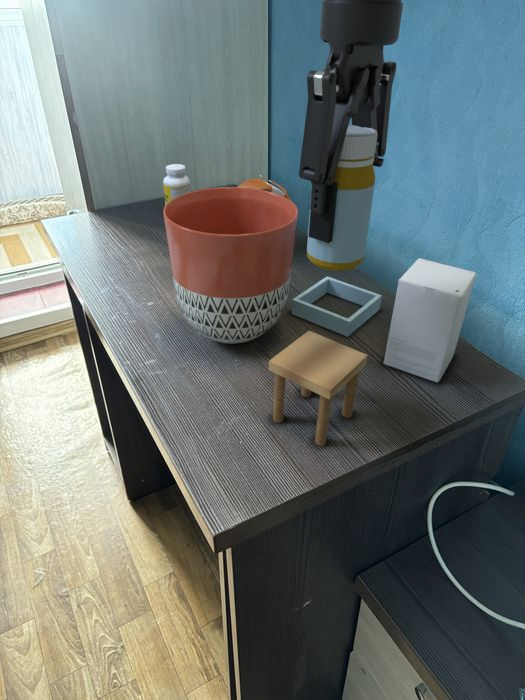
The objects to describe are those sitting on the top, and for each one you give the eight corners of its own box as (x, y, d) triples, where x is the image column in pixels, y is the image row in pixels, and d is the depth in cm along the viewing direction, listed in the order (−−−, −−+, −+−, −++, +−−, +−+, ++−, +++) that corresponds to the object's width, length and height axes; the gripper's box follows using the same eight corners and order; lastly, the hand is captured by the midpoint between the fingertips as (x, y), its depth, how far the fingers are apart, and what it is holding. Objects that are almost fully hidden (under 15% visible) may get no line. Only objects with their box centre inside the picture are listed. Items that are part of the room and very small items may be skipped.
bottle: (294, 260, 63) (302, 130, 55) (328, 243, 68) (340, 120, 59) (341, 278, 60) (358, 142, 51) (374, 259, 64) (394, 130, 55)
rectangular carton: (455, 355, 83) (480, 271, 75) (438, 384, 77) (463, 296, 68) (401, 337, 87) (418, 255, 79) (381, 364, 81) (397, 278, 72)
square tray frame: (379, 309, 95) (382, 295, 93) (347, 337, 87) (349, 322, 85) (325, 290, 100) (327, 276, 98) (291, 313, 93) (292, 299, 91)
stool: (357, 413, 71) (368, 354, 66) (323, 450, 66) (330, 390, 60) (303, 387, 76) (308, 330, 70) (266, 420, 70) (268, 360, 64)
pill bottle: (172, 207, 135) (168, 161, 128) (195, 210, 133) (193, 164, 127) (161, 216, 129) (157, 169, 123) (185, 219, 128) (182, 171, 121)
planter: (313, 330, 88) (324, 207, 76) (236, 383, 76) (235, 248, 64) (230, 292, 99) (228, 179, 86) (150, 334, 86) (134, 209, 74)
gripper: (378, -6, 56) (353, 200, 70) (265, -8, 44) (260, 246, 57) (444, -5, 53) (404, 214, 66) (341, -6, 40) (318, 266, 53)
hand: (338, 228), depth 61 cm, fingers closed on bottle, 7 cm apart
